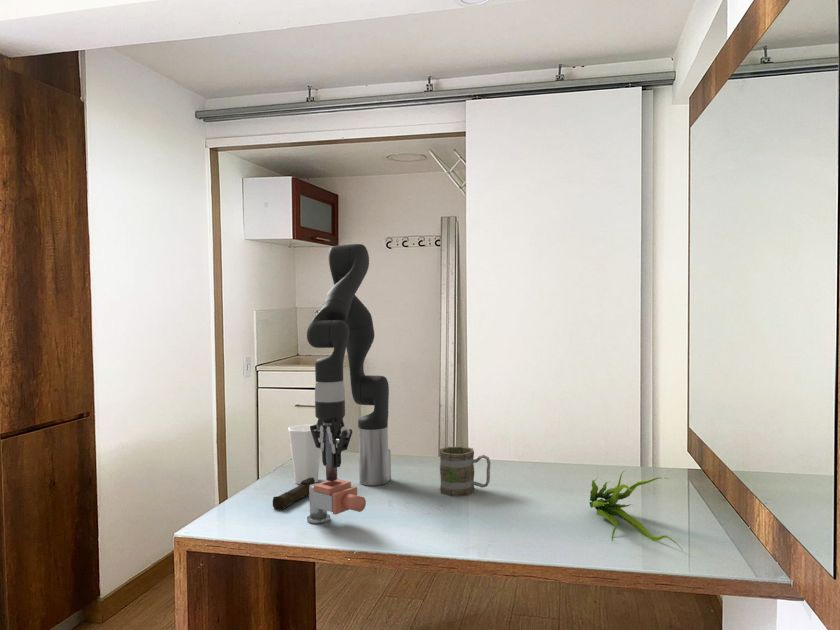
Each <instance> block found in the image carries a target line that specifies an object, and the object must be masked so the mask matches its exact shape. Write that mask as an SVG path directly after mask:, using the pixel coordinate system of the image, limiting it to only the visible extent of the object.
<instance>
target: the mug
mask: <svg viewBox="0 0 840 630" xmlns="http://www.w3.org/2000/svg"><path fill="white" fill-rule="evenodd" d="M439 456H440V457H439V458H440V459H439V460H440V461H439V473H440V474H439V475H440V487H439V491H440V492H439V493H440V494H442V495H445V496H449V497H466V496H469V495H472V494H475V493H476V492H475V491H476V490H475V486H476V487H480V488H485V487H486V488H487V487H488V486H489V484H490V480H491V479H490V478H491V460H490V457H489V456H487V455H485V454H482V455H479V456H478V457H476V459H474V457H475V450H474V448H471V447H468V446H462V445H461V446H447V447H444V448H443V447H442V448H440V449H439ZM481 459H485V460H486V464H487V467H486V481H485V483H481V482H478V481H475V479H474V478H475V466H474V465H475V464H476V463H479V462H480V461H481Z"/></svg>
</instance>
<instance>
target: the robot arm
mask: <svg viewBox="0 0 840 630" xmlns="http://www.w3.org/2000/svg"><path fill="white" fill-rule="evenodd" d="M328 265H329V270H330V274H331V277H332V281H333V286H332V287H331V288H330V289H329V290H328V292H327V294H326V296H325V297H324V301H323V304H322V307H321V309H319V312H317V313H316V315H315V316H314V317H313V319H312V320H310V323H309V324H308V327H307V330H306V339H307V342H308V344H309V345H310V346H311V347H312V348H314V349H315V348H316V349H327V348H328V349H333V351H332V353H331V354H330V355H327V356H324V357H323V356H322V357H320V358H317V359H316V360H315V364H314V368H315V369H314V375H315V384H314V385H315V386H314V406H315V408H314V412H315V413H314V415H315V418H316V419H317V421H316V424H311V425H312V426H310V430H311V433H312V436H313V439H314V442H315V445H316V447H317V448H320V452H321V457H322V459H321V460H322V465H323V466H325V467H326V449H325V426H323V421H328V422H332V426H328V427H327V433H328V436H329V443H330V444H331V447H332V452H333V453H332V467H333V468H337V469H338V468H340V467H341V465H342V452H344V451H347V450H348V448H349V444H350V440H351V438H352V434H353V430H352V429H351V428H349V429H348V428H347V427H345V422H344V417H345V416H346V395H345V394H346V393H345V392H346V391H345V389H346V388H345V384H344V360H345V354H347V359H348V360H347V361H348V367H349V369H348V370H349V379H350V389H351V395H352V399H353V401H354V403H355V404H356V405H359V406H373V407H374V409H373V411H372V412H371V413H368V414H367V415H366V414H365V415H363V416H361V417H359V418H358V421H357V428H358V429H357V430H358V431H357V432H358V433H357V434H358V467H359V468H358V471H359V472H358V473H359V474H358V475H359V477H358V479H359V483H360V484H361V485H364V486H381V485H385V484H388V483H389V482H390V481H391V480H392V461H391V460H392V457H391V453H392V452H391V449H389V430H388V429H389V428H388V427H389V423H388V422H389V396H390V387H389V381H388V378H387V377H386V376H384V375H371V374H369V375H368V374H367V375H365V370H364V364H365V359H366V357H367V355H368V353H369V351H370V349H371V347H372V344H373V342H374V340H375V329H374V323H373V317H372V314H371V313H370V310H369V309H368V308H367V307H366V306H365V304H364V303H363V302H362V301H361V300H360V299H359V298H358V297H357V295H356V294H357V291H358V289H359V288H360V287H361V284H362V283H363V281H364V279H365V277H366V275H367V274H368V270H369V266H370V256H369V251H368V249H367V247H366V246H365V245H364V244H362V243H361V244H360V243H352V244H340V245H333V246H331V247H330V248H329V251H328ZM346 352H347V353H346ZM318 438H319V439H320V443H319V440H318ZM334 439H336V440H334ZM336 445H337V448H336Z"/></svg>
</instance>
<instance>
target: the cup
mask: <svg viewBox="0 0 840 630" xmlns="http://www.w3.org/2000/svg"><path fill="white" fill-rule="evenodd" d="M312 425H313V424H309V423H308V424H304V423H303V424H298V425H292V426H288V427H287V430H288V437H289V445H290V452H291V453H290V454H291V459H292V466H293V473H294V481H295V484H296V485H301V482H302V481H303V480H306V479H308V478H314V481H315V483H318V482H319V475H320V473H319V472H320V461H321V460H320V459H321V450H320V448H317V447H316V445H315V442H314V439H313V436H312V433H311V430H310V426H312ZM318 440H319V443H320V439H319V438H318Z"/></svg>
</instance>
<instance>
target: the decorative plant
mask: <svg viewBox="0 0 840 630" xmlns="http://www.w3.org/2000/svg"><path fill="white" fill-rule="evenodd" d="M625 471H627V469H625V470H623V471H622V472H621V473H620V475H619V479H618V483H617V485H616V486H615V487H613V488H611V487H610V488H609V489H607V484H608V483H609V484H610V481H606V482H605V483H604V484H603V486H602V488H600V489H599V487H598V485H597V483H596V480H597V479H598V477H596V478H595V479H593V480H592V481H591V490H590V492H589V493H590V496H589V497H590V498H589V501H590V502H589V507H590V508H591V509H592V508H594V509H595V510H596V515H597V516H599V517H602V518H604V519H607V520H608V521H609V522H611V523H612V524H613V525H614V526H613V529H612V533H611V541H614V539H613V538H614V535H615V532H616V530H617V527H618V525H619V522H618V520H617V519H616V518H615V517H618V518H620V519H622V520H623V521H625V522H627V523H628V524H629V525H630V526H632V527H633V528H634V529H635V530H637V531H638V532H639V533H641V534H642V535H643V536H645V537H647V538H648V540H649V539H650V540H652V541H660V540H662V539H664V538H666V539H669V540H670V541H672V542H674V543H675V544H677V546H678V547H679V548H680V550H682V551H683V550H684V549H683V548H682V547H681V546H680V545H679V544H678V543H677V541H675V540H674V539H672V538H671V537H669V536H668V535H665V534H663V535H661V536H656V535H651V534H650V532H649V531H648V530H647V529H646V528H645V526H644V525H643V524H642V523H641V522H639V520H637V519H636V518H634V517H633V516H631V515H630V514H628V513H627V512H626V511H625V510H624V509H622V508H626V507H629V506H632V504H631V503H630V504H621V503H618V501H619V500H624V499H626V498H628V497H630V496H631V494H632V493H633V492H635V489H636V488H637V487H639V486H642V485H646V484H649V483H651V482H653V481H656V480H658V479H660V480H661V477H656V478H653V479H652V478H651V479H649V480H643V481H636V483H634V484H632V485H631V486H628V485H627V484H624V483H623V484H621V481H622V475H623V473H624V472H625ZM665 479H667V480H670V478H668V477H665ZM623 489H626V490H625V491H624V492H622V490H623Z"/></svg>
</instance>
